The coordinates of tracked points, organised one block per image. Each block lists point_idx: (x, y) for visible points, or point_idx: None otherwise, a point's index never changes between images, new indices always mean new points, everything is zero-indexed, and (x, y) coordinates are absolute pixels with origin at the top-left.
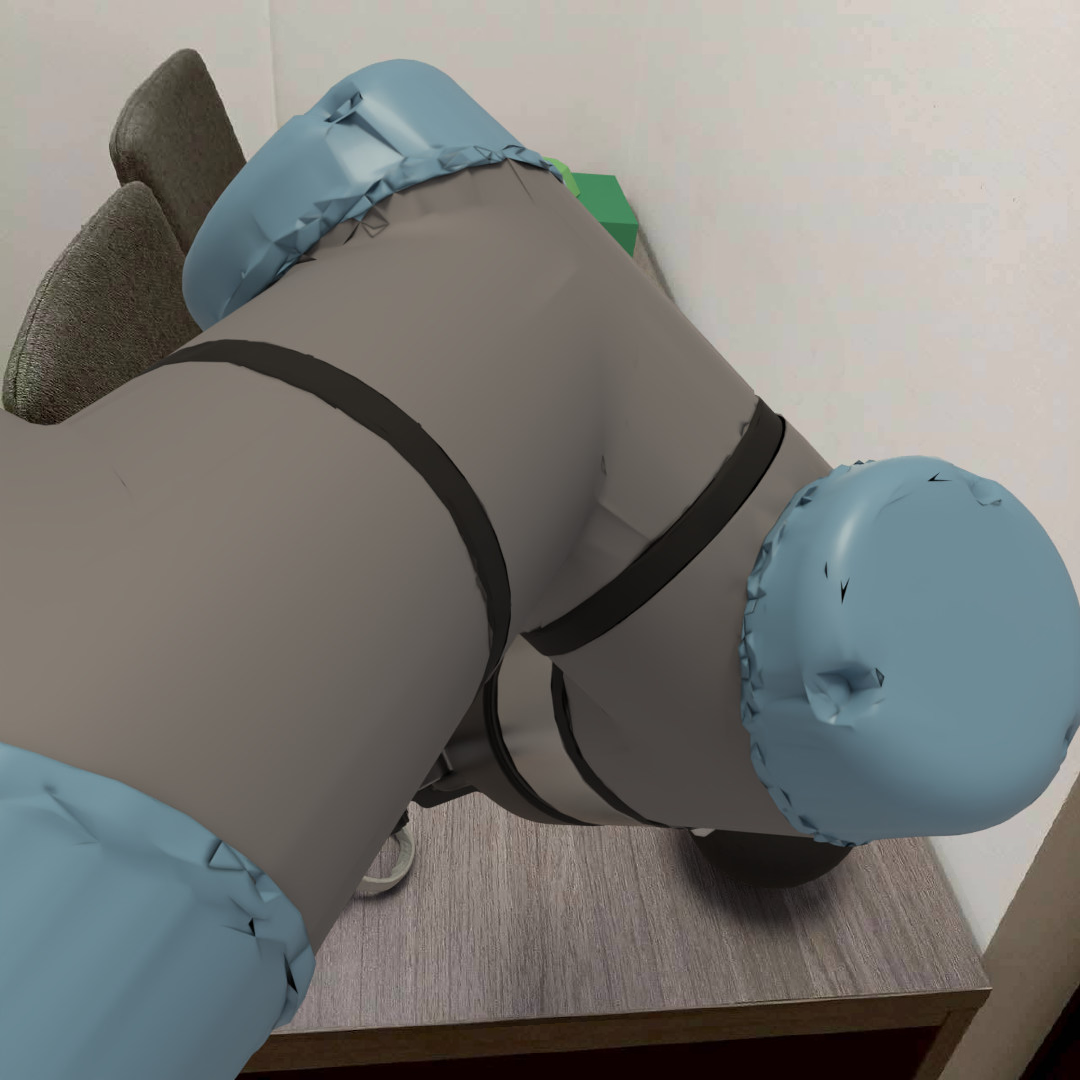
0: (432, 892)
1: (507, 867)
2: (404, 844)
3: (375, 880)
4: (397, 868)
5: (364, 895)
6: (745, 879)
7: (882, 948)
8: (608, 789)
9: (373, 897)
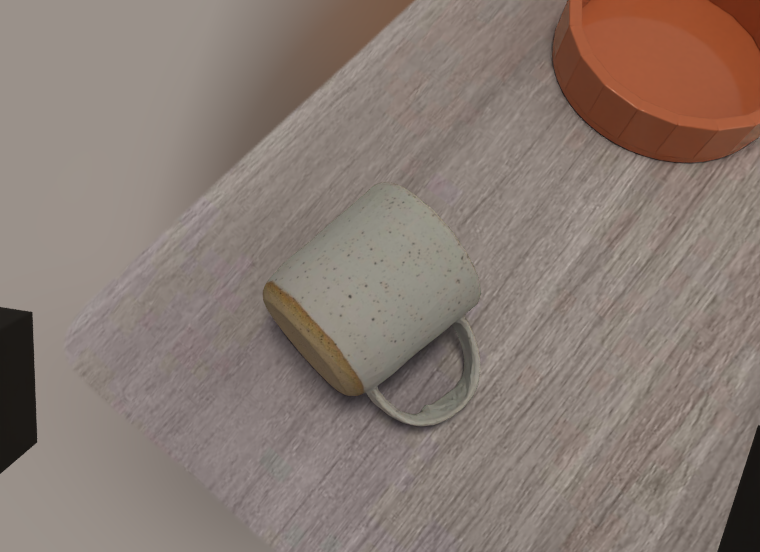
0: (453, 461)
1: (558, 500)
2: (462, 386)
3: (391, 411)
4: (432, 410)
5: None
6: None
7: None
8: None
9: None
